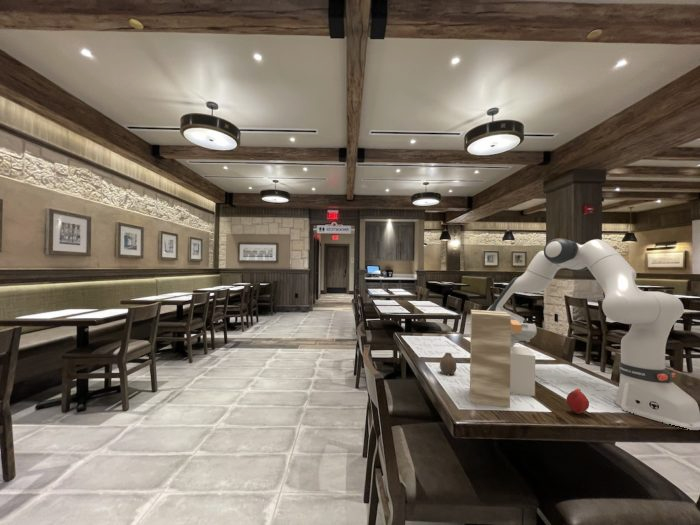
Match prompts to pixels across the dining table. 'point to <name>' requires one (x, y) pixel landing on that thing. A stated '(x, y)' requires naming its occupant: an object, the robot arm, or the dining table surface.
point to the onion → (577, 401)
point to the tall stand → (490, 357)
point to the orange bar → (515, 326)
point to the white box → (522, 371)
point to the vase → (448, 364)
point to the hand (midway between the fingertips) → (511, 321)
